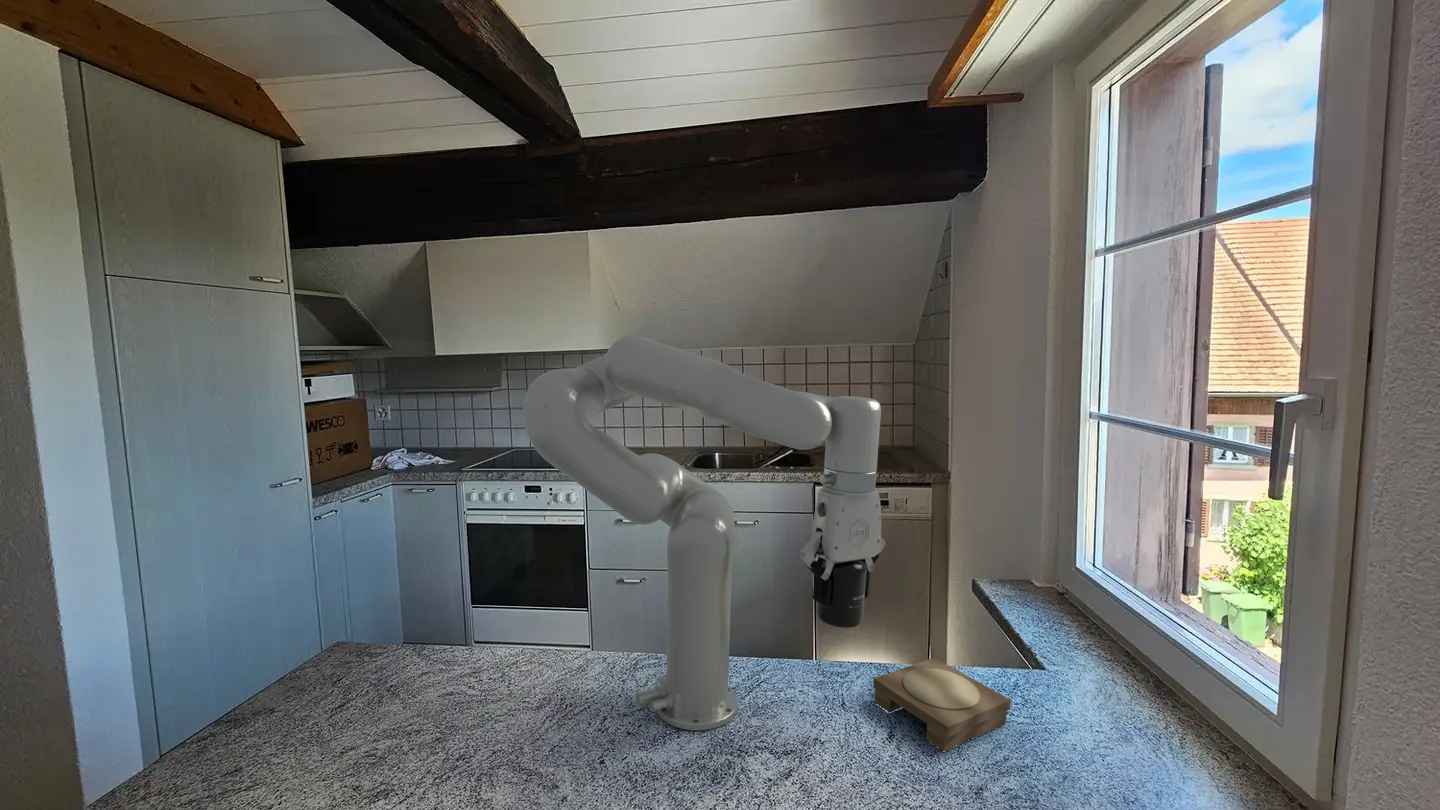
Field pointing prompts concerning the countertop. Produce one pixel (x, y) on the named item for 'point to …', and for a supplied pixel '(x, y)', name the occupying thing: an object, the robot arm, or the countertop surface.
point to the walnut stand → (942, 701)
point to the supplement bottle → (845, 595)
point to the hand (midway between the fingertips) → (840, 597)
